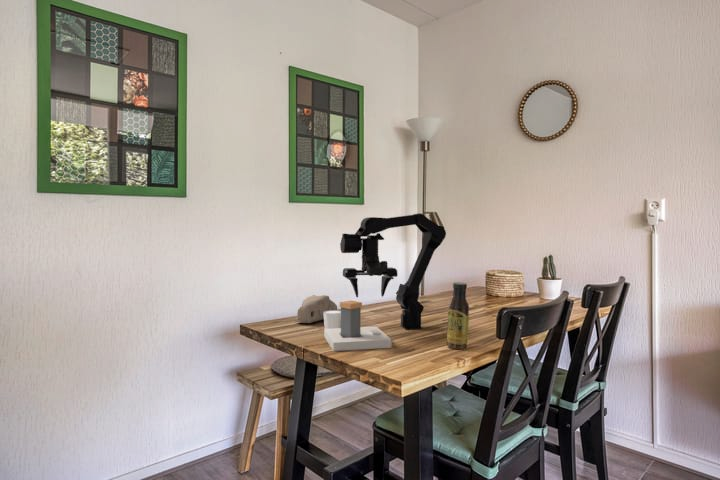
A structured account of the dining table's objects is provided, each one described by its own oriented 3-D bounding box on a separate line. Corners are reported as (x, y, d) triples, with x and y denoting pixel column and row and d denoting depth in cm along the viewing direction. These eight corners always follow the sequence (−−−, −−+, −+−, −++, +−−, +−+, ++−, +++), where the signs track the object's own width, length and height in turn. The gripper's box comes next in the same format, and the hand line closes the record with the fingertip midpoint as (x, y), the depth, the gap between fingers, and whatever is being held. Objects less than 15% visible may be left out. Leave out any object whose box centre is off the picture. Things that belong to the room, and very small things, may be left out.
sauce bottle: (442, 347, 138) (443, 282, 138) (454, 343, 143) (455, 281, 142) (461, 351, 134) (462, 284, 133) (472, 347, 138) (473, 283, 137)
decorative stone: (305, 327, 165) (305, 300, 165) (290, 324, 170) (290, 298, 169) (340, 318, 181) (340, 293, 181) (326, 315, 186) (326, 291, 185)
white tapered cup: (340, 334, 154) (340, 314, 154) (320, 333, 155) (320, 313, 155) (344, 329, 160) (344, 310, 160) (326, 328, 162) (326, 309, 162)
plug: (350, 338, 146) (351, 300, 146) (361, 341, 143) (361, 302, 142) (339, 341, 143) (339, 302, 142) (350, 344, 139) (350, 304, 139)
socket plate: (376, 333, 155) (376, 324, 155) (391, 347, 138) (391, 336, 138) (324, 336, 151) (324, 326, 151) (333, 351, 134) (333, 340, 133)
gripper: (348, 254, 149) (348, 301, 149) (402, 254, 153) (402, 299, 154) (342, 252, 160) (342, 296, 160) (392, 252, 164) (392, 294, 164)
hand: (369, 296), depth 159 cm, fingers open, 9 cm apart
